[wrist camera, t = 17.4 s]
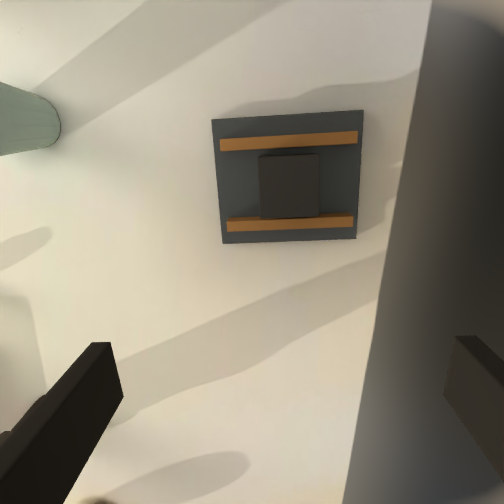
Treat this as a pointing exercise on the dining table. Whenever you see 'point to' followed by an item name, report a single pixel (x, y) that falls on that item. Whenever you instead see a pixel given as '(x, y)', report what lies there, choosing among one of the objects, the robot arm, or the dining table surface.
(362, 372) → the dining table surface
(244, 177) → the base pad
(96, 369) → the robot arm
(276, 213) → the black pad
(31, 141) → the cup
